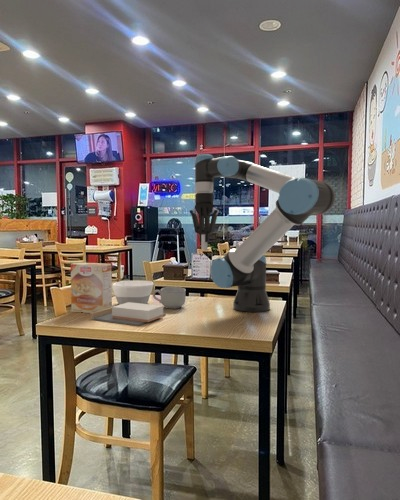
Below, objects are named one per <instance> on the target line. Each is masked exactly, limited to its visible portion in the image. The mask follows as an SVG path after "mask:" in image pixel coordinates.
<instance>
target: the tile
mask: <svg viewBox="0 0 400 500" xmlns="http://www.w3.org/2000/svg"><path fill="white" fill-rule="evenodd" d="M163 314H164V305H161V304H160V305H158V304H150V303H149V304H148V303H147V304H141V303H131V302H128V303H124V304H120V305H119V304H117V305H114V306H113V305H112V318H120V319H127V320H135V321H143V322H147V323H150V322H153V321H155V320H157V319H160V318H162V317H164V316H163Z"/></svg>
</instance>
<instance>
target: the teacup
mask: <svg viewBox="0 0 400 500" xmlns="http://www.w3.org/2000/svg"><path fill="white" fill-rule="evenodd" d="M186 291H187V290H186V288H184V287H180V286H165V287H162V288H161V289H154V291H152V297H153V299H154V300H156V301H158V303H160V304H161V305H162V306H163V307H165V308H166V309H168V310H169V309H171V310H172V309H173V310H174V309H180V308H182V307H183V306H184V305H185V303H186ZM156 293H158V294H159V296H160V298H158V297H157V295H156Z"/></svg>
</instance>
